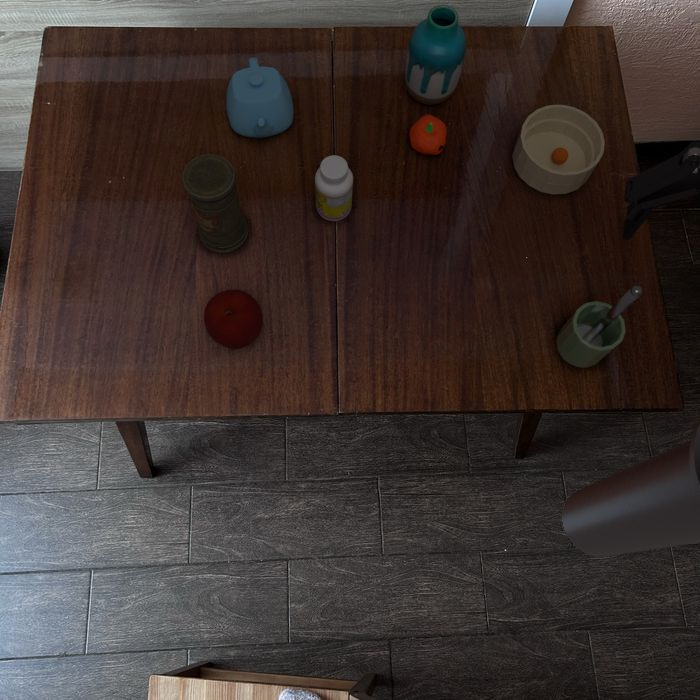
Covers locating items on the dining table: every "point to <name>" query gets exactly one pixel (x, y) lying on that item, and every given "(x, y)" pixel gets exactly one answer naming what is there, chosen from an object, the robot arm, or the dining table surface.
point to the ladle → (609, 317)
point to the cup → (578, 348)
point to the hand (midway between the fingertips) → (681, 242)
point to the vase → (435, 56)
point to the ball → (559, 155)
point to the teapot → (259, 101)
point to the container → (215, 203)
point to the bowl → (549, 134)
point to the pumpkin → (428, 135)
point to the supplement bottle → (333, 188)
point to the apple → (233, 319)
